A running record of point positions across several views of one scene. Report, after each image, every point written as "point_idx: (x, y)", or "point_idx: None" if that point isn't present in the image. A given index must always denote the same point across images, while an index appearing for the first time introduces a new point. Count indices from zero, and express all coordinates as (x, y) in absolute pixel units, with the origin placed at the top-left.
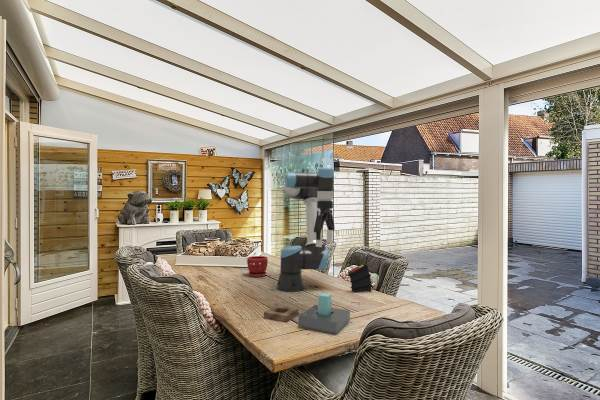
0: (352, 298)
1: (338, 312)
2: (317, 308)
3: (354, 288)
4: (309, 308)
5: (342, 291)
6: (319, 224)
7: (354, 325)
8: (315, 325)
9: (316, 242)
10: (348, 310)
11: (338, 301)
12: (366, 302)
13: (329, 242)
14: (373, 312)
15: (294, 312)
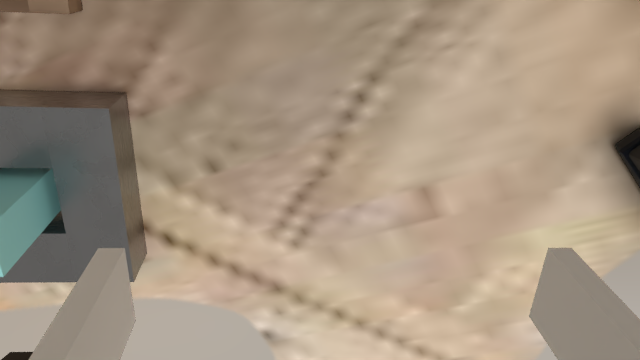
0: (490, 171)
1: (74, 250)
2: (60, 145)
3: (625, 157)
4: (31, 107)
5: (621, 80)
6: None
7: None
8: None
9: (73, 300)
10: (131, 276)
11: (409, 123)
12: (444, 244)
13: (544, 295)
14: (310, 300)
15: (14, 11)
